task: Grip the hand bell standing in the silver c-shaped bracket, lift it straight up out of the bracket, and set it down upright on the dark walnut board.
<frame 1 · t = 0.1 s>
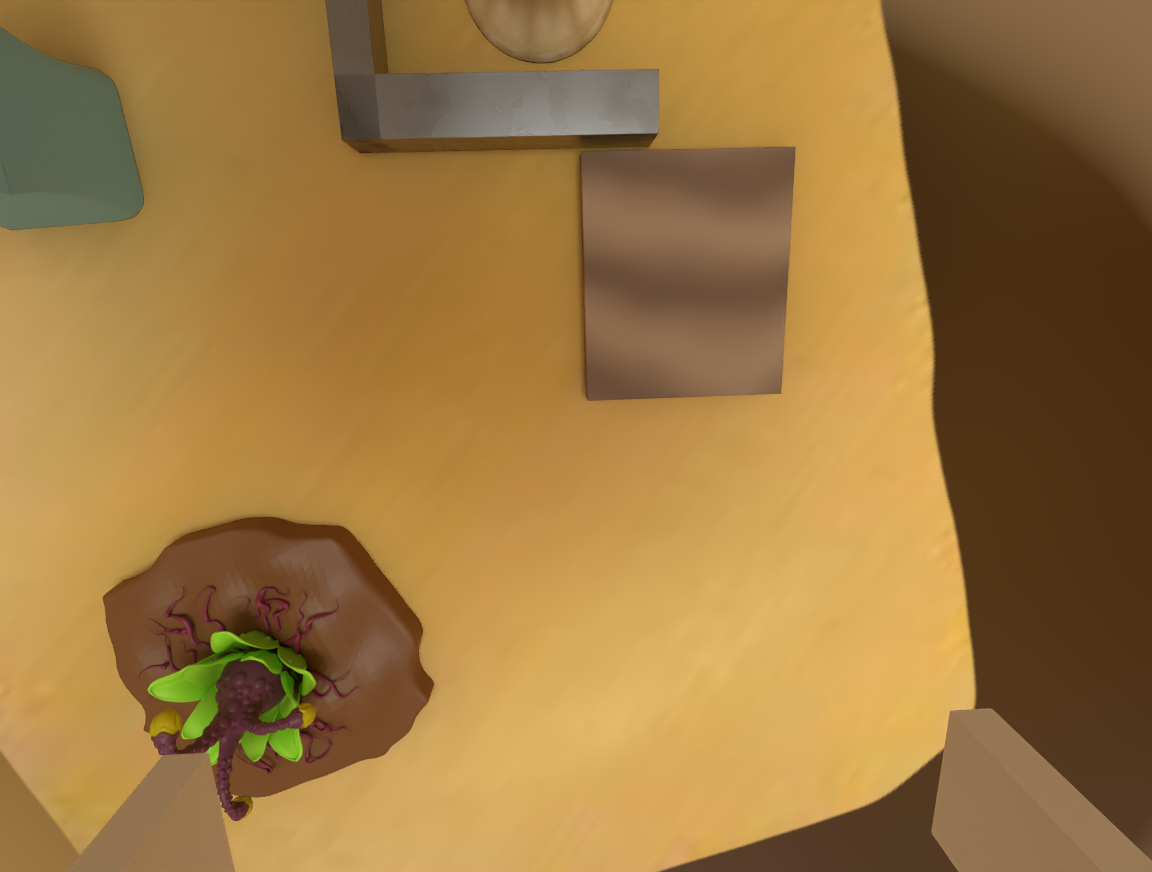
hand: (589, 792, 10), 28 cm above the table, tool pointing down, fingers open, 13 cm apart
walnut board: (681, 279, 36), on the table
light blue holder: (62, 150, 33), on the table
plant: (281, 643, 41), on the table
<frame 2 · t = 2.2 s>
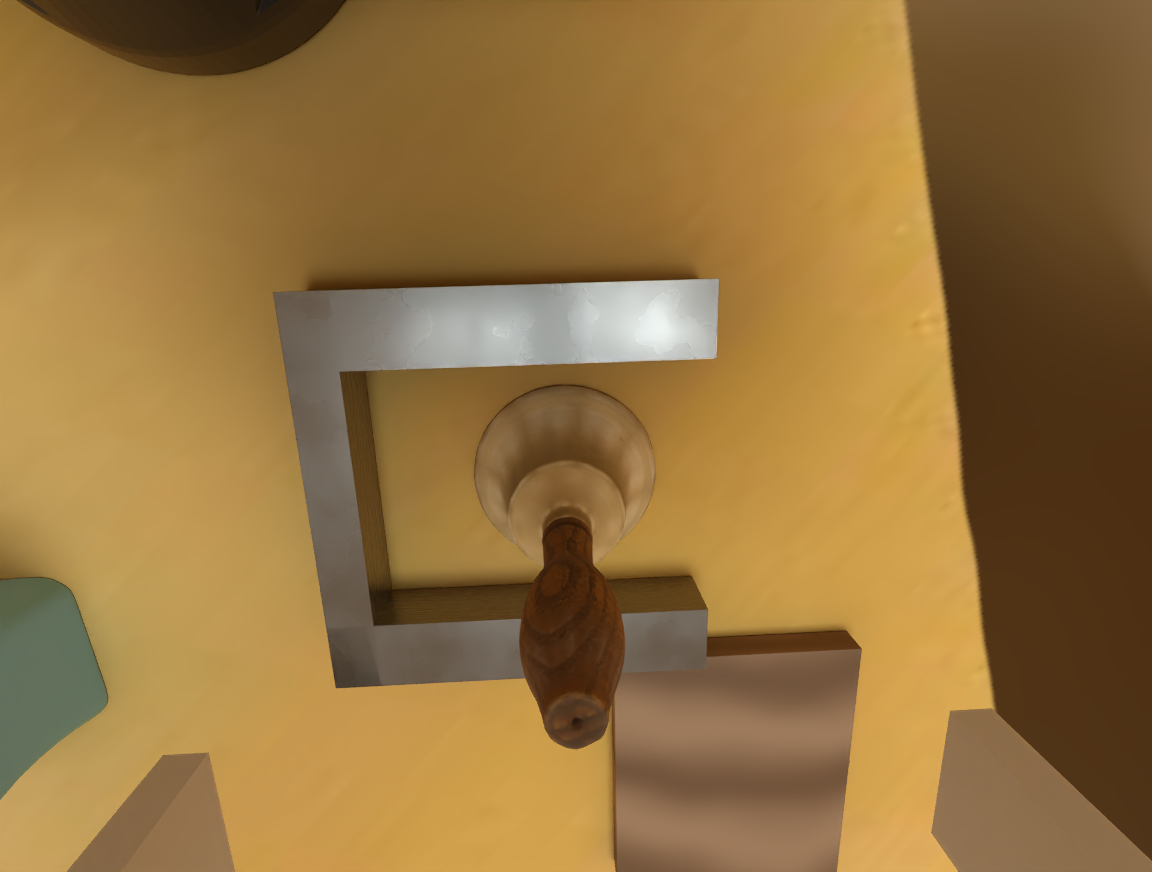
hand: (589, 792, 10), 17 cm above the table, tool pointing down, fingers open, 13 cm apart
walnut board: (724, 751, 31), on the table
light blue holder: (12, 652, 28), on the table
silver c-shaped bracket: (565, 474, 27), on the table
hand bell: (565, 472, 27), on the table
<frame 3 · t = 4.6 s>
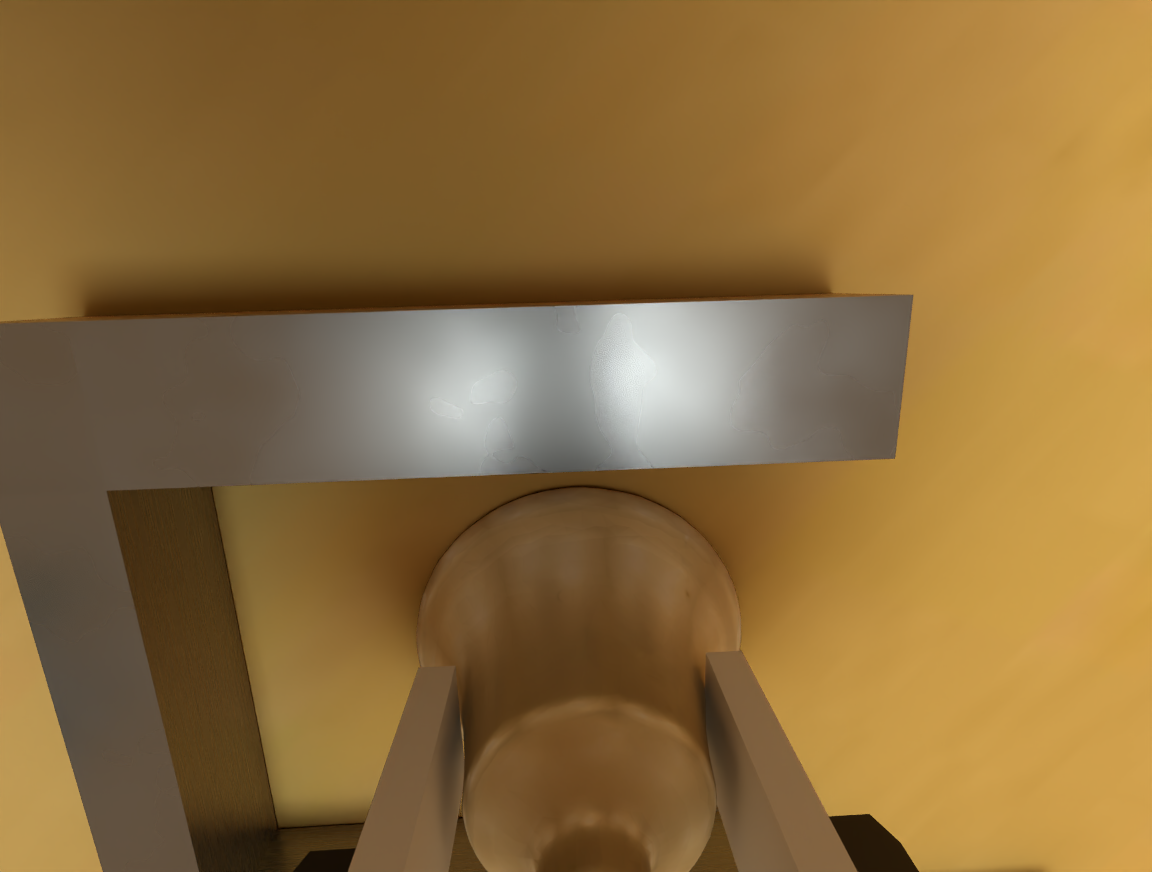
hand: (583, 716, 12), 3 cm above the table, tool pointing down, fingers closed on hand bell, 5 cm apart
silver c-shaped bracket: (578, 638, 15), on the table
hand bell: (579, 632, 15), on the table, touching gripper
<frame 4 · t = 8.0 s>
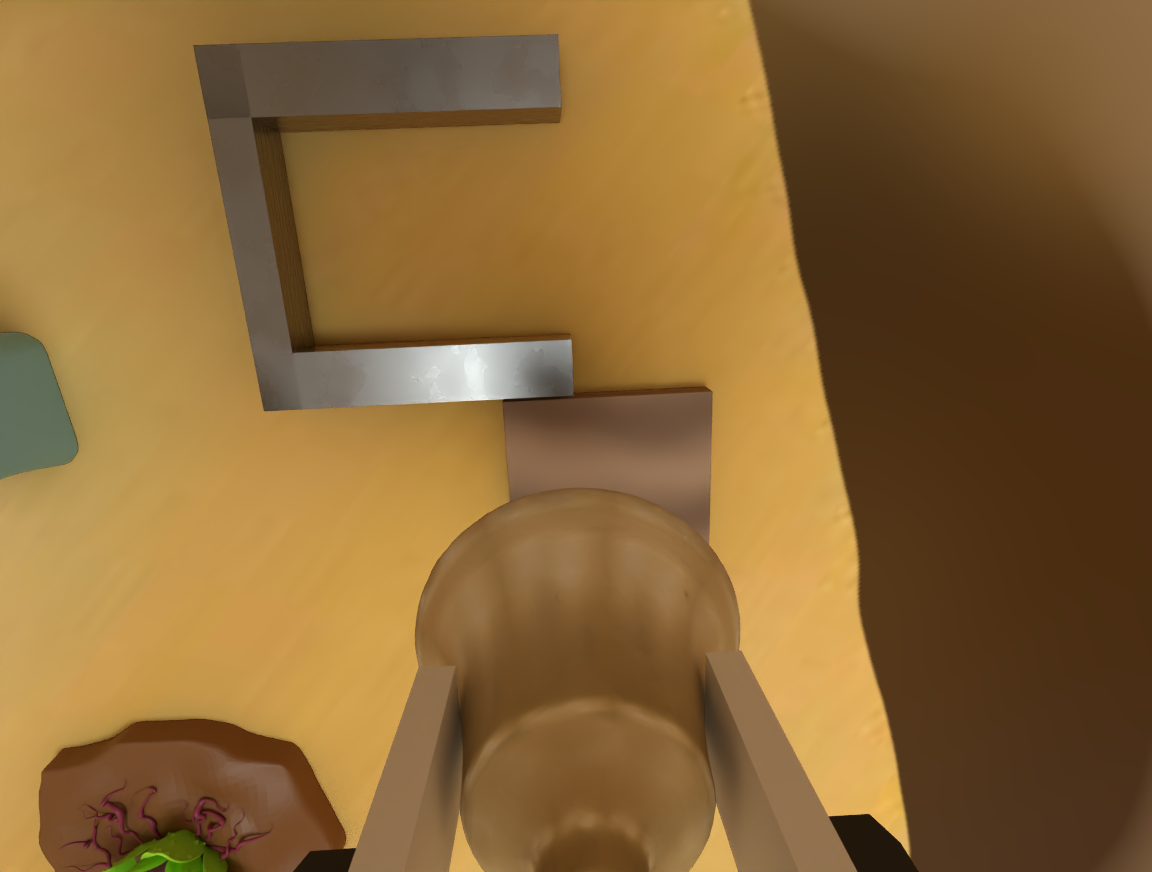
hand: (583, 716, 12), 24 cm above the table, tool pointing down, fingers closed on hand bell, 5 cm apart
walnut board: (608, 501, 36), on the table
silver c-shaped bracket: (455, 237, 32), on the table
hand bell: (578, 633, 15), point 21 cm above the table, touching gripper
plant: (206, 823, 42), on the table
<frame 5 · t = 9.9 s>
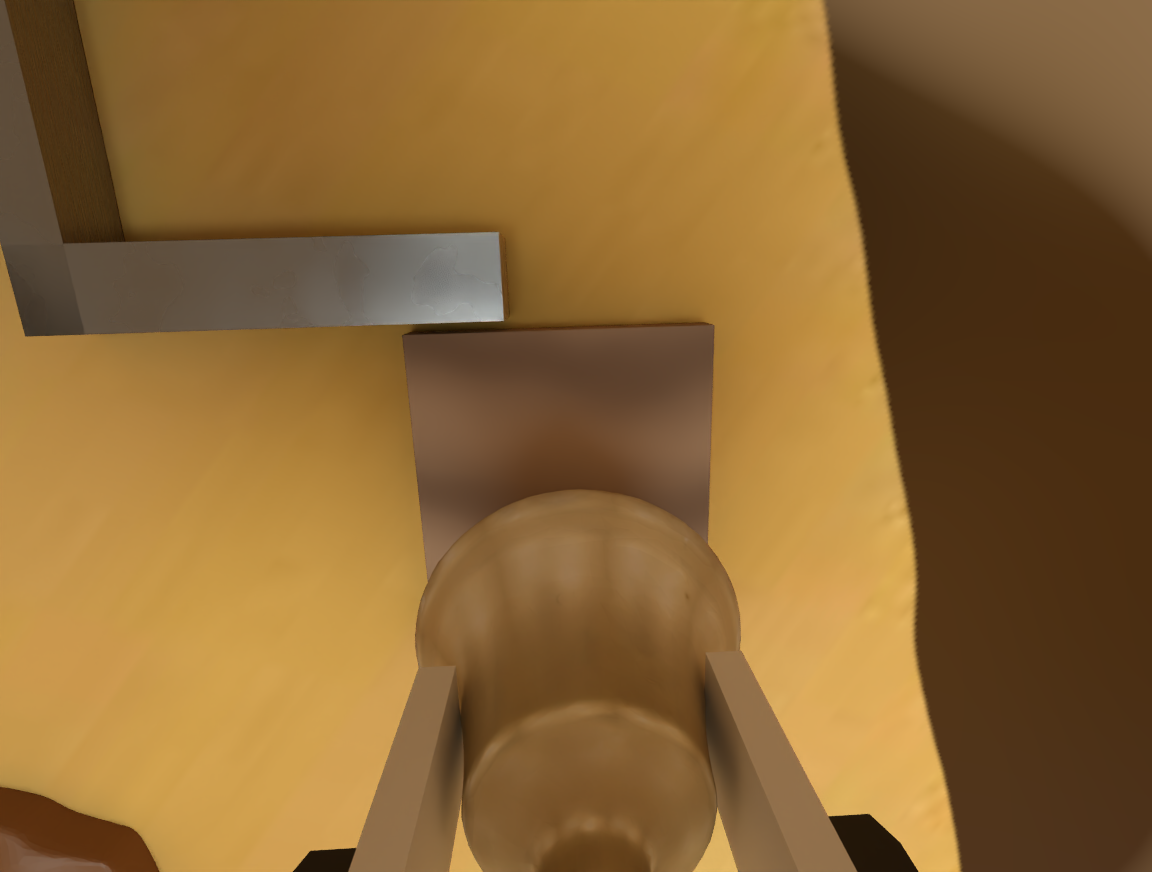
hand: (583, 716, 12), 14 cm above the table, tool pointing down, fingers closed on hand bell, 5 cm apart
walnut board: (564, 488, 26), on the table
silver c-shaped bracket: (331, 84, 21), on the table
hand bell: (578, 635, 15), point 11 cm above the table, touching gripper
when the fingers open (7 cm above the table, at t = 11.7 s): hand bell drops 2 cm, resting on walnut board.
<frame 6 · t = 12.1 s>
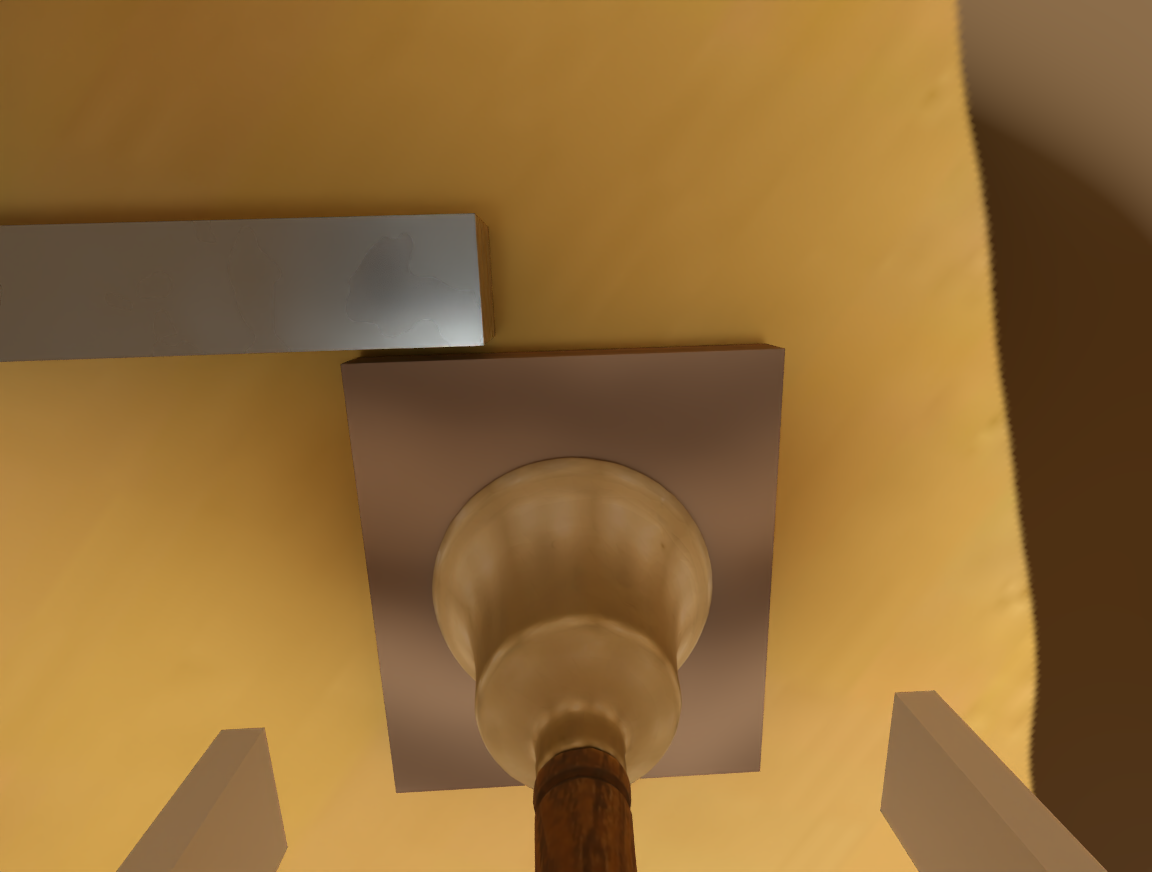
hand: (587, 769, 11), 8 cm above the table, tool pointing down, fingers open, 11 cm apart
walnut board: (571, 567, 19), on the table
silver c-shaped bracket: (234, 1, 15), on the table
hand bell: (572, 586, 18), point 1 cm above the table, touching walnut board
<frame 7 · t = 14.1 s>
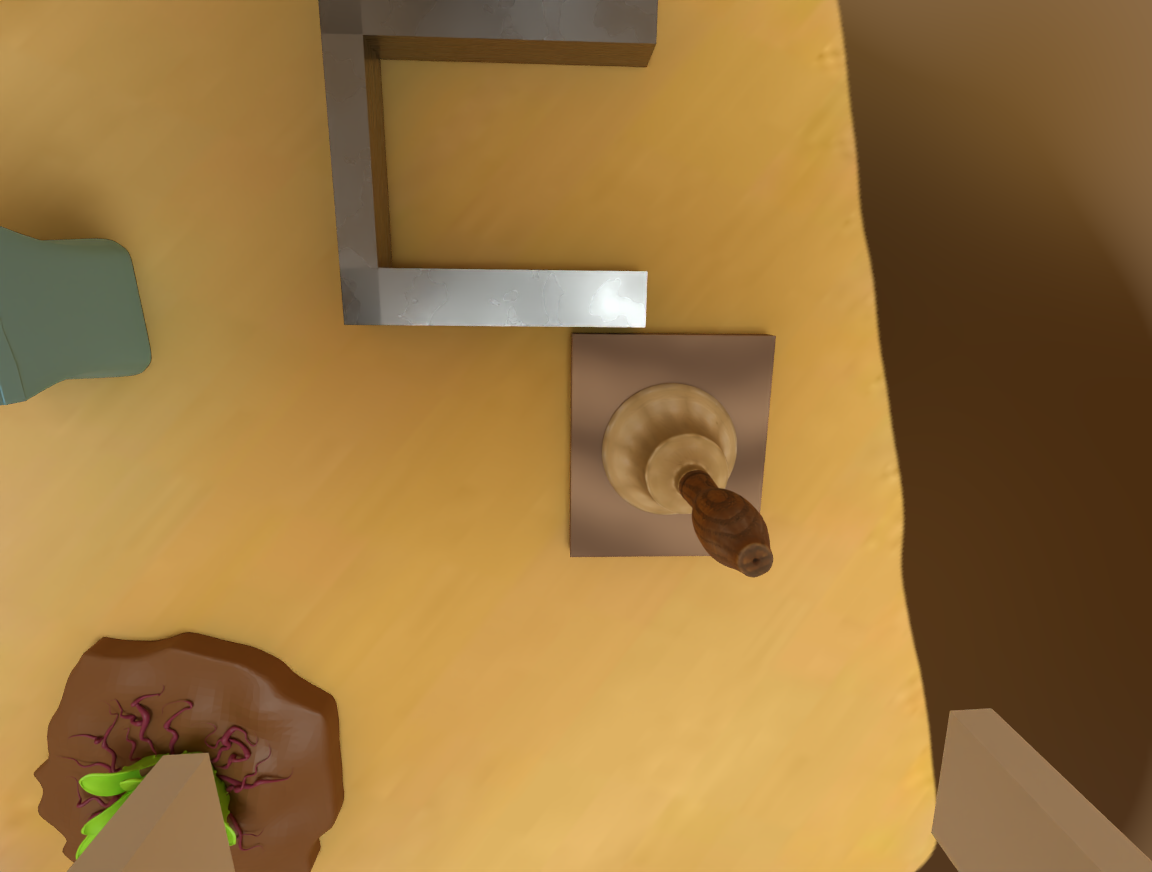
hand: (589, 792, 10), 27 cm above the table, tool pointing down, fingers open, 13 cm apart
walnut board: (664, 444, 37), on the table
light blue holder: (75, 310, 34), on the table
silver c-shaped bracket: (537, 172, 33), on the table
hand bell: (668, 449, 36), point 1 cm above the table, touching walnut board
plant: (208, 751, 42), on the table
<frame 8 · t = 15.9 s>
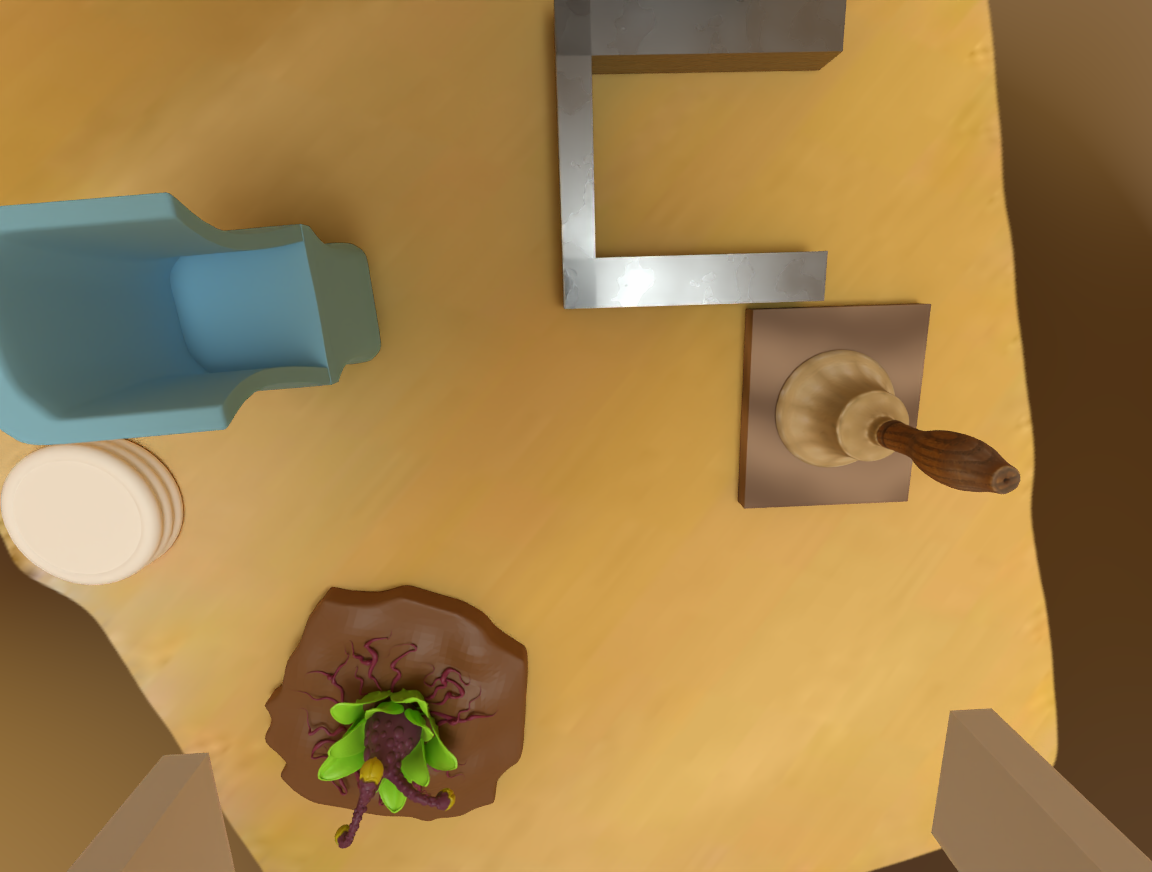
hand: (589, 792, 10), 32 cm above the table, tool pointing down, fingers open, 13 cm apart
walnut board: (824, 405, 42), on the table
light blue holder: (316, 307, 39), on the table
beige short cylinder: (116, 499, 42), on the table
silver c-shaped bracket: (721, 167, 38), on the table
hand bell: (832, 409, 41), point 1 cm above the table, touching walnut board
plant: (407, 692, 47), on the table
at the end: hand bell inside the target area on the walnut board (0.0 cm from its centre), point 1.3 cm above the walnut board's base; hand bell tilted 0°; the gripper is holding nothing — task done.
